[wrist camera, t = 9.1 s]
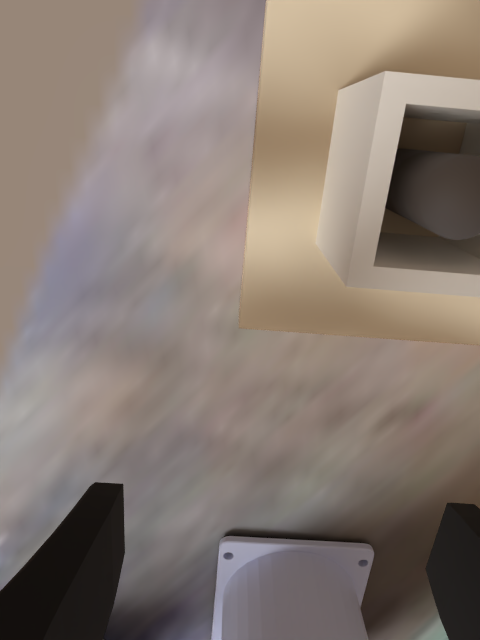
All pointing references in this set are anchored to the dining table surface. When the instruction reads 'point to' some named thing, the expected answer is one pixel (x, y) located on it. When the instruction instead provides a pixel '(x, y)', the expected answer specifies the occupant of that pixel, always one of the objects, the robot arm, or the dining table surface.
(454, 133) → the roll holder
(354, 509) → the dining table surface
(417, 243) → the hollow square tube
